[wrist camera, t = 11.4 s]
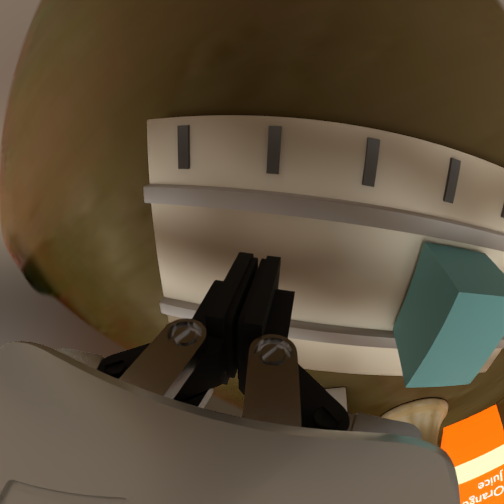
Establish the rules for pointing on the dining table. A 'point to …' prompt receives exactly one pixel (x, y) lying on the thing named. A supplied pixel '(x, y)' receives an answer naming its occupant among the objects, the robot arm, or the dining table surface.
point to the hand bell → (421, 416)
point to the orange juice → (477, 456)
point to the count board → (315, 222)
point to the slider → (449, 317)
